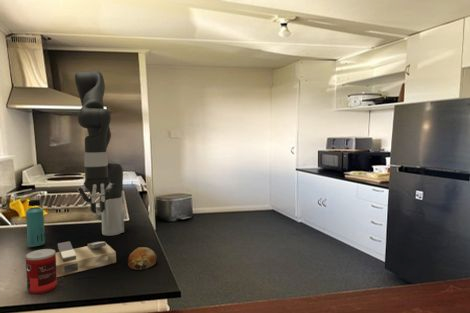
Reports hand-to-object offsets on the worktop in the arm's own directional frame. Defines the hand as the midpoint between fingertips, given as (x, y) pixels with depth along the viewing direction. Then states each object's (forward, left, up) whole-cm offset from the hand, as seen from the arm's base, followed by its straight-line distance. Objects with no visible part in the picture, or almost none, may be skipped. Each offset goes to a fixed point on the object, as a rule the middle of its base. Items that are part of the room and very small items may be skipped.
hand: (97, 212), depth 115 cm
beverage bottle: (+16, -34, -19) cm, 42 cm away
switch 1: (+10, -4, -14) cm, 18 cm away
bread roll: (-12, +11, -19) cm, 25 cm away
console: (+5, -4, -19) cm, 20 cm away
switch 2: (0, -3, -14) cm, 15 cm away
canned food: (+19, +8, -19) cm, 28 cm away
